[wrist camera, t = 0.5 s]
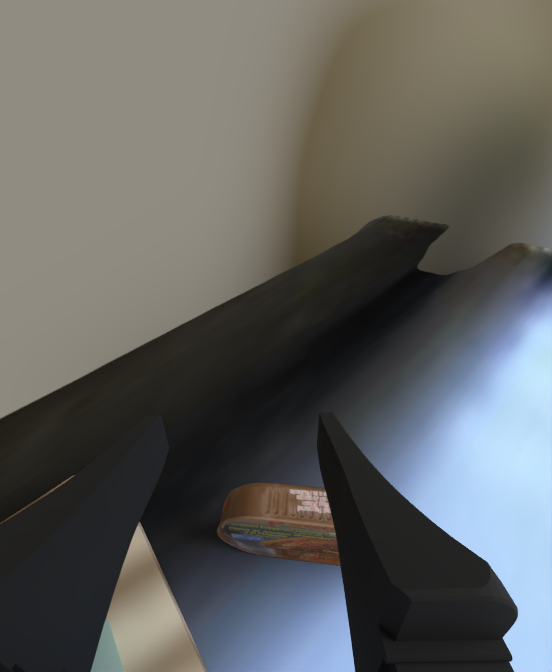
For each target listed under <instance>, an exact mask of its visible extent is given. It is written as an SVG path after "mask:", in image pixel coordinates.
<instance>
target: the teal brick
mask: <svg viewBox="0 0 552 672" xmlns="http://www.w3.org/2000/svg"><path fill="white" fill-rule="evenodd" d="M91 672H124V669H123V666H122V663H121V659H120V656H119V653H118V650H117V646H116V643H115V640H114V636H113V633H112V630H111V626H110V623H109V621H105V623H104V627H103V630H102V633H101V637H100V640H99V644H98V648H97V651H96V655H95V658H94V662H93V665H92V669H91Z"/></svg>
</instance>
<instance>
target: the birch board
mask: <svg viewBox="0 0 552 672" xmlns="http://www.w3.org/2000/svg"><path fill="white" fill-rule="evenodd" d="M105 621H109V623H110V626H111V630H112V633H113V636H114V640H115V643H116V646H117V650H118V653H119V656H120V659H121V663H122V666H123V669H124V672H208V671H207V669H206V666H205V664H204V662H203V660H202V658H201V655H200V653H199V651H198V649H197V647H196V644H195V642H194V640H193V638H192V636H191V633H190V631H189V629H188V627H187V625H186V622H185V620H184V618H183V616H182V614H181V611H180V609H179V607H178V605H177V603H176V600H175V598H174V596H173V594H172V592H171V589H170V587H169V585H168V583H167V581H166V578H165V576H164V574H163V572H162V569H161V567H160V565H159V563H158V561H157V558H156V556H155V554H154V552H153V550H152V547H151V545H150V543H149V541H148V539H147V536H146V534H145V532H144V530H143V528H142V525H141V523H140V521H139V523H138V526H137V528H136V531H135V533H134V535H133V538H132V541H131V544H130V546H129V549H128V552H127V555H126V558H125V561H124V564H123V566H122V570H121V573H120V576H119V579H118V582H117V585H116V588H115V591H114V594H113V597H112V600H111V604H110V607H109V610H108V613H107V617H106V620H105Z"/></svg>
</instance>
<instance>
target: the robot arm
mask: <svg viewBox="0 0 552 672" xmlns="http://www.w3.org/2000/svg"><path fill="white" fill-rule="evenodd" d="M168 450H169V446H168V442H167V438H166V434H165V430H164V426H163V422H162V418H161V415H147V416H146V417H145V418H143V419H142V420H141V421H140V422H139V423H138V424H136V425H135V426H134V427H133V428H132V429H131V430H130V431H128V432H127V433H126V434H125V435H124V436H123V437H122V438H120V439H119V440H118V441H117V442H116V443H114V444H113V445H112V446H111V447H110V448H109V449H107V450H106V451H105V452H104V453H103V454H101V455H100V456H99V457H98V458H96V459H95V460H94V461H92V462H91V463H90V464H89V465H87V466H86V467H85V468H84V469H82V470H81V471H80V472H79V473H77V474H76V475H75V476H73V477H72V478H70V479H69V480H68V481H66V482H65V483H63V484H62V485H61V486H59V487H58V488H56V489H55V490H53V491H52V492H50V493H49V494H47V495H46V496H44V497H43V498H41V499H40V500H38V501H37V502H35V503H33V504H32V505H30V506H29V507H27V508H25V509H24V510H22V511H21V512H19V513H18V514H16V515H14V516H13V517H11V518H9V519H8V520H6V521H4V522H2V523H1V524H0V672H91V669H92V665H93V662H94V658H95V655H96V651H97V648H98V644H99V640H100V637H101V633H102V630H103V627H104V623H105V620H106V617H107V613H108V610H109V607H110V604H111V600H112V597H113V594H114V591H115V588H116V585H117V582H118V579H119V576H120V573H121V570H122V566H123V564H124V561H125V558H126V555H127V552H128V549H129V546H130V544H131V541H132V538H133V535H134V533H135V531H136V528H137V526H138V523H139V521H140V519H141V517H142V514H143V512H144V510H145V508H146V506H147V503H148V501H149V499H150V497H151V495H152V492H153V490H154V488H155V486H156V483H157V481H158V479H159V477H160V474H161V472H162V469H163V466H164V463H165V460H166V457H167V453H168ZM317 450H318V457H319V464H320V470H321V474H322V479H323V483H324V487H325V491H326V495H327V499H328V503H329V507H330V511H331V515H332V519H333V524H334V529H335V533H336V540H337V546H338V552H339V558H340V565H341V571H342V578H343V585H344V591H345V598H346V606H347V613H348V620H349V627H350V634H351V642H352V650H353V657H354V665H355V672H514V671H513V669H512V667H511V665H510V663H509V662H511V661H512V655H511V653H510V651H509V649H508V648H507V646H506V644H505V642H504V640H503V636H504V635H505V634H506V633H507V632H508V630H509V629H510V628H511V627H512V626H513V624H514V623H515V621H516V619H517V616H518V609H517V606H516V605H515V603H514V602H513V600H512V598H511V597H510V595H509V593H508V592H507V590H506V589H505V587H504V585H503V584H502V582H501V581H500V579H499V578H498V577H497V575H496V574H495V572H494V571H493V570H492V568H491V567H490V565H489V564H488V563H487V562H486V561H485V560H483V559H482V558H481V557H479V556H478V555H476V554H475V553H474V552H472V551H471V550H469V549H468V548H466V547H465V546H464V545H462V544H461V543H459V542H458V541H457V540H455V539H454V538H453V537H451V536H450V535H449V534H447V533H446V532H445V531H444V530H442V529H441V528H440V527H438V526H437V525H436V524H435V523H433V522H432V521H431V520H430V519H429V518H427V517H426V516H425V515H424V514H423V513H422V512H420V511H419V510H418V509H417V508H416V507H415V506H413V505H412V504H411V503H410V502H409V501H408V500H407V499H406V498H405V497H403V496H402V495H401V494H400V493H399V492H398V491H397V490H396V489H395V488H394V487H393V486H392V485H391V484H390V483H389V482H388V481H387V480H386V479H385V478H384V477H383V476H382V475H381V474H380V472H379V471H378V470H377V469H376V468H375V467H374V466H373V465H372V463H371V462H370V461H369V460H368V459H367V458H366V456H365V455H364V454H363V453H362V452H361V450H360V449H359V448H358V446H357V445H356V444H355V443H354V441H353V440H352V439H351V437H350V436H349V435H348V433H347V432H346V430H345V429H344V427H343V426H342V425H341V423H340V422H339V420H338V418H337V417H336V415H335V414H334V413H333V412H328V413H319V425H318V439H317Z"/></svg>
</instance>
